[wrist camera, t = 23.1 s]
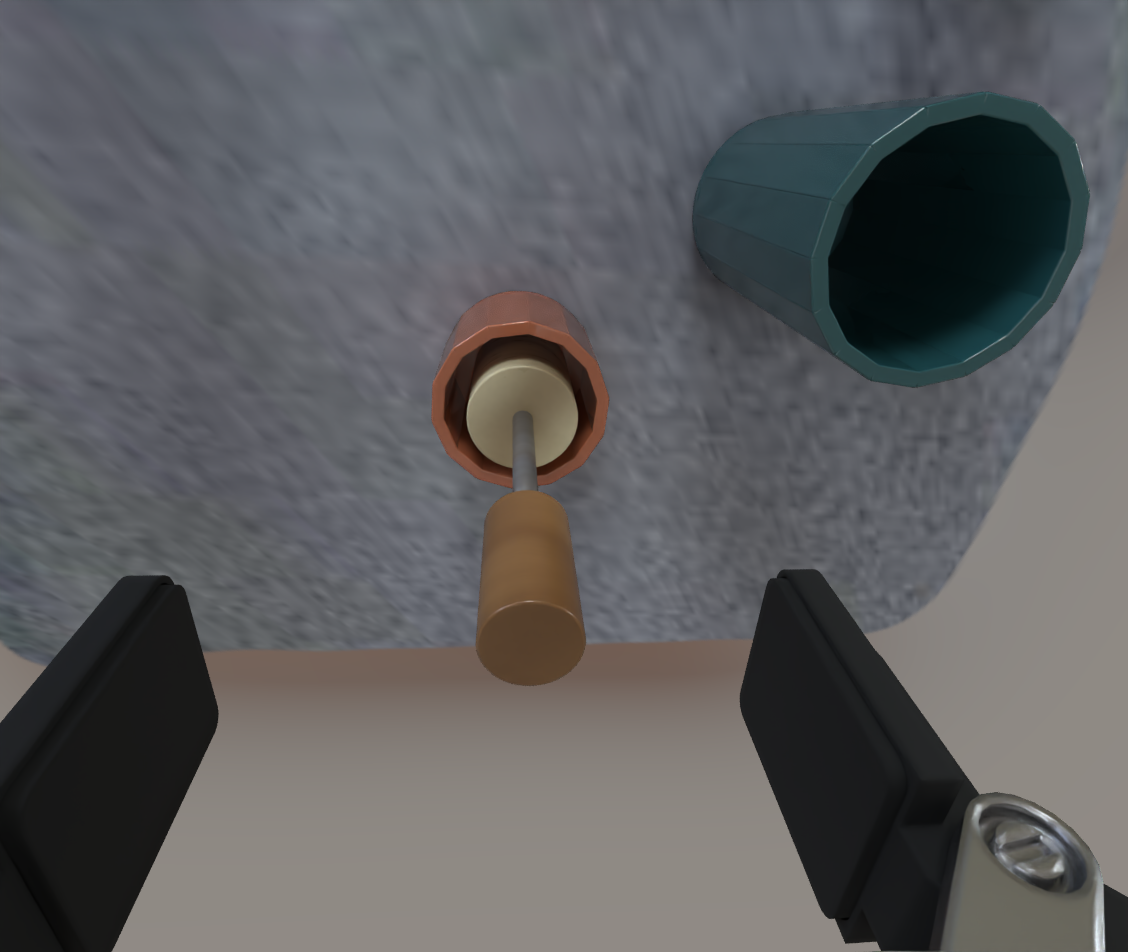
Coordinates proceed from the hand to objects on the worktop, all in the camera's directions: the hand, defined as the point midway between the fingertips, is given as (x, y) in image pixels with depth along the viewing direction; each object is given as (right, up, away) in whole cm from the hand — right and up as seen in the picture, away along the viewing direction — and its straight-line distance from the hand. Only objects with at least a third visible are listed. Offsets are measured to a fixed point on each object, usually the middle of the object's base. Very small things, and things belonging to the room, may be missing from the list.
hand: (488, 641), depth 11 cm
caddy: (-1, +8, +21) cm, 22 cm away
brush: (-1, +8, +20) cm, 22 cm away
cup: (+11, +15, +18) cm, 26 cm away
